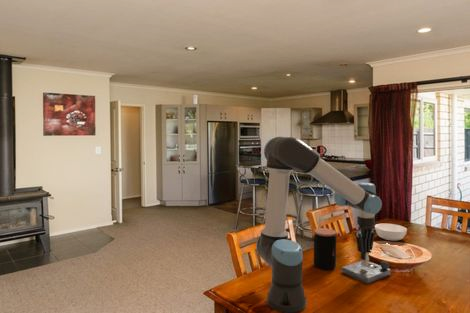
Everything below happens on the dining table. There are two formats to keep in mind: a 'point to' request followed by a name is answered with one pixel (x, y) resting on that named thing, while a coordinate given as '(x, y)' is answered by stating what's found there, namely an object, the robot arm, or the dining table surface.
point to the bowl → (390, 231)
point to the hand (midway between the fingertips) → (364, 265)
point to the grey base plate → (366, 272)
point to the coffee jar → (325, 249)
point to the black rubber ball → (384, 264)
